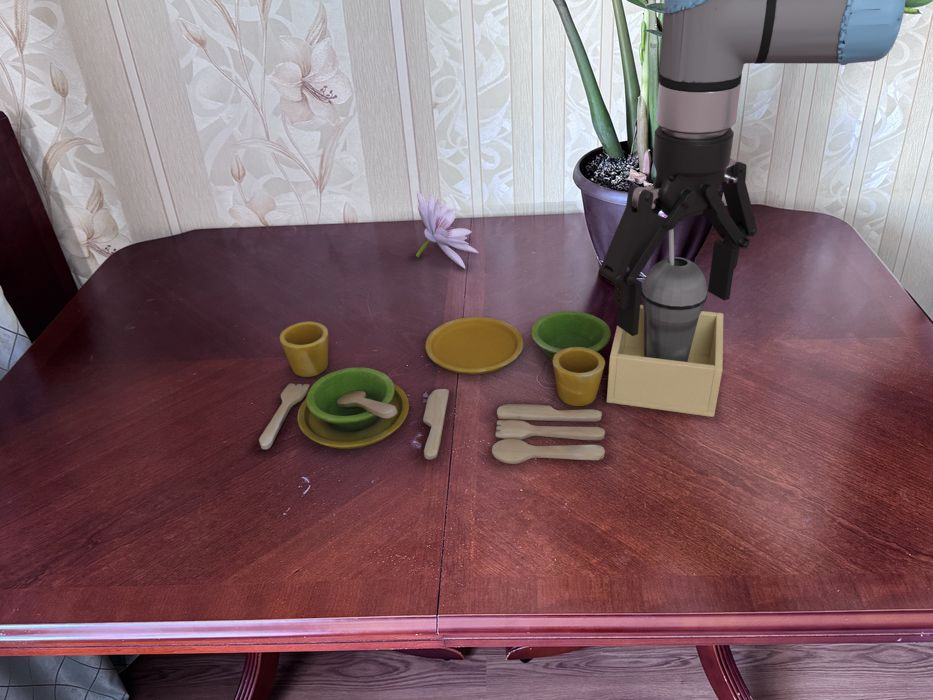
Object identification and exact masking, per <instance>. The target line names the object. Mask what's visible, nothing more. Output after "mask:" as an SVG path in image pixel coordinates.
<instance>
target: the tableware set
mask: <svg viewBox="0 0 933 700" xmlns="http://www.w3.org/2000/svg"><path fill="white" fill-rule="evenodd" d="M530 335H531V338H532V340H533V341H534V343H535V345H536V346H537V347H539V349H541V350H542V351H543V353H544V354H545V355H546V357H547V358H548V359H550V361H551V362H552V365H553V371H554V372H553V373H554V378H555V384H556V391H557V396H558V398H559V400H561V402H563V403H564V404H566V405H569V406H572V407H584V406H588V405H590V404H592V403H593V402H594V401H595V400H596V398H597V395H598V392H599V388H600V384H601V380H602V376H603V373H604V369H605V366H606V360H605V358H604V357H603V356H602V355H601V354H600V353H599V352H600V351H602V350H603V349H604V348H605V347H606V346H607V345H608V344H609V342H610V339H611V335H612V333H611V329H610V326H609V325H608V324H607V322H605V321H604V320H603V319H601V318H599V317H597V316H596V315H593V314H590V313H586V312H582V311H575V310H572V311H571V310H568V311H567V310H566V311H557V312H553V313H548V314H546V315H544V316H541V317H540V318H539V319H537V320H536V321H535V322H534V323H533V325H532V326H531V330H530ZM279 343H280V345H281V347H282V349H283V351H284V354H285V356H286V358H287V360H288V363H289V366H290V368H291V370H292V372H293V373H294V374H295V375H296V376H299V377H302V378H310V377H316V376H318V375H320V374H322V373H324V372H325V371H326V369H327V368H328V365H329V329H328V328H327V327H326V325H324V324H322V323H320V322H317V321H302V322H298V323H294V324H291V325H289V326H288V327H286V328H285V329H283V330H282V331H281V332H280V334H279ZM524 343H525V342H524V338H523V336H522V333H521V332H520V331H519V330H518V329H517V328H516V327H515V326H513V325H512V324H510V323H509V322H506V321H504V320H501V319H498V318H494V317H488V316H487V317H486V316H467V317H461V318H456V319H453V320H449V321H446V322H444V323H443V324H440V325H439V326H437V327H436V328H434V330H432V331H431V332H430V333H429V335H428V336H427V337H426V340H425V344H424V347H425V352H426V355H427V356H428V358H429V359H430V360H431V361H432V362H433V363H435V364H436V365H437V366H439V367H441V368H442V369H444V370H446V371H449V372H451V373H455V374H459V375H469V376H474V375H476V376H477V375H485V374H490V373H493V372H497V371H499V370H501V369H504V368H506V367H507V366H508V365H509V364H511V363H513V362H514V361H515V360H517V358H518V357H519V356H520V354H521V353H522V351H523V349H524ZM310 386H311V387H310ZM304 398H305V399H304ZM449 398H450V390H449V389H447V388H438V389H434V390H432V392H431V393H430V394H429V395H428V397H427V401H426V405H425V409H424V414H423V418H422V422H423V423H424V424H425V425H426V426H428V427H429V428H430V431H429V434H428V436H427V439H426V442H425V446H424V449H423V457H424V458H425V459H426V460H429V461H430V460H431V461H432V460H434V459H436V458H437V457H438V455H439V450H440V446H441V440H442V437H443V430H444V425H445V420H446V414H447V409H448V403H449ZM280 399H281V404H280V405H279V407H278V409H277V410H276V412H275V413H274V415H273V417H272V418H271V420H270V422H269V423H268V424H267V426H266V427H265V429H264V430H263V432H262V434H261V435H260V437H259V438H258V442H259V446H260V449H261V450H269V449H270V448H271V447H272V446H273V444H274V441H275V439H276V437H277V436H278V434H279V431H280V430H281V428H282V426H283V424H284V422H285V420H286V418H287V416H288V414H289V412H290V411H291V408H292V407H293V406H294V405H296V404H298V403H300V402H302V401H303V402H302V403H301V405H300V406H299V408H298V412H297V424H298V427H299V429H300V430H301V432H302V433H303V434H304V435H305V436H306V437H307V438H308V439H309V440H311V441H313V442H314V443H317V444H319V445H322V446H325V447H328V448H332V449H333V448H334V449H340V450H352V449H353V450H355V449H360V448H366V447H368V446H372V445H375V444H377V443H379V442H381V441H383V440H385V439H386V438H388V437H389V436H390V435H392V434H393V433H394V432H395V431H397V430H398V429H399V428H400V427H401V426H402V424H403V423H404V422H405V420H406V418H407V416H408V414H409V410H410V403H409V401H410V400H409V398H408V396H407V394H406V393H405V391H404V390H403V389H402V388H401V387H400V386H399V385H397V384H396V383H395V382H393V381H392V379H391V377H389V376H388V375H387V374H386V373H384V372H382V371H381V370H380V371H379V370H377V369H374V368H370V367H362V366H361V367H356V366H355V367H347V368H342V369H338V370H334V371H332V372H329V373H327V374H325V375H323V376H322V377H320V378H318V379H317V380H316V381H315V382H314V383H313V384H312V385H310V384H308V383H304V384H302V383H297V384H295V383H292V382H291V383H290V382H289V383H288V384H287V385H286V387H285V388H284V389H283V390H282V391H281V393H280ZM496 417H497V419H498V420H497V421H496V428H495V438H499V439H501V440H497V442H495V443H494V444H493V445H492V448H491V455H492V456H493V458H495V459H496V460H497V461H499V462H501V463H504V464H509V465H518V464H522V463H523V462H526V461H528V460H531V459H535V458H540V459H541V458H542V459H543V458H544V459H561V460H562V459H563V460H580V461H601V460H603V459H604V458H605V454H606V449H605V448H604V447H603V446H602V445H599V444H570V445H569V444H568V445H566V444H565V445H532V444H529V443H527V442H526V441H524V440H525V439H528V438H530V437H545V438H559V439H570V440H582V441H602V440H604V439H605V436H606V430H605V429H604V428H602V427H599V426H556V425H555V426H553V425H551V426H549V425H548V426H547V425H533V424H530V423H528V422H526V421H547V422H549V421H550V422H599V421H601V420H602V417H603V412H602V411H601V410H598V409H591V408H590V409H565V410H563V409H560V410H558V409H555V408H553V406H552V405H549V404H533V403H532V404H529V403H506V404H502V405H500V406H499V407H498V408H497V409H496Z"/></svg>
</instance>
